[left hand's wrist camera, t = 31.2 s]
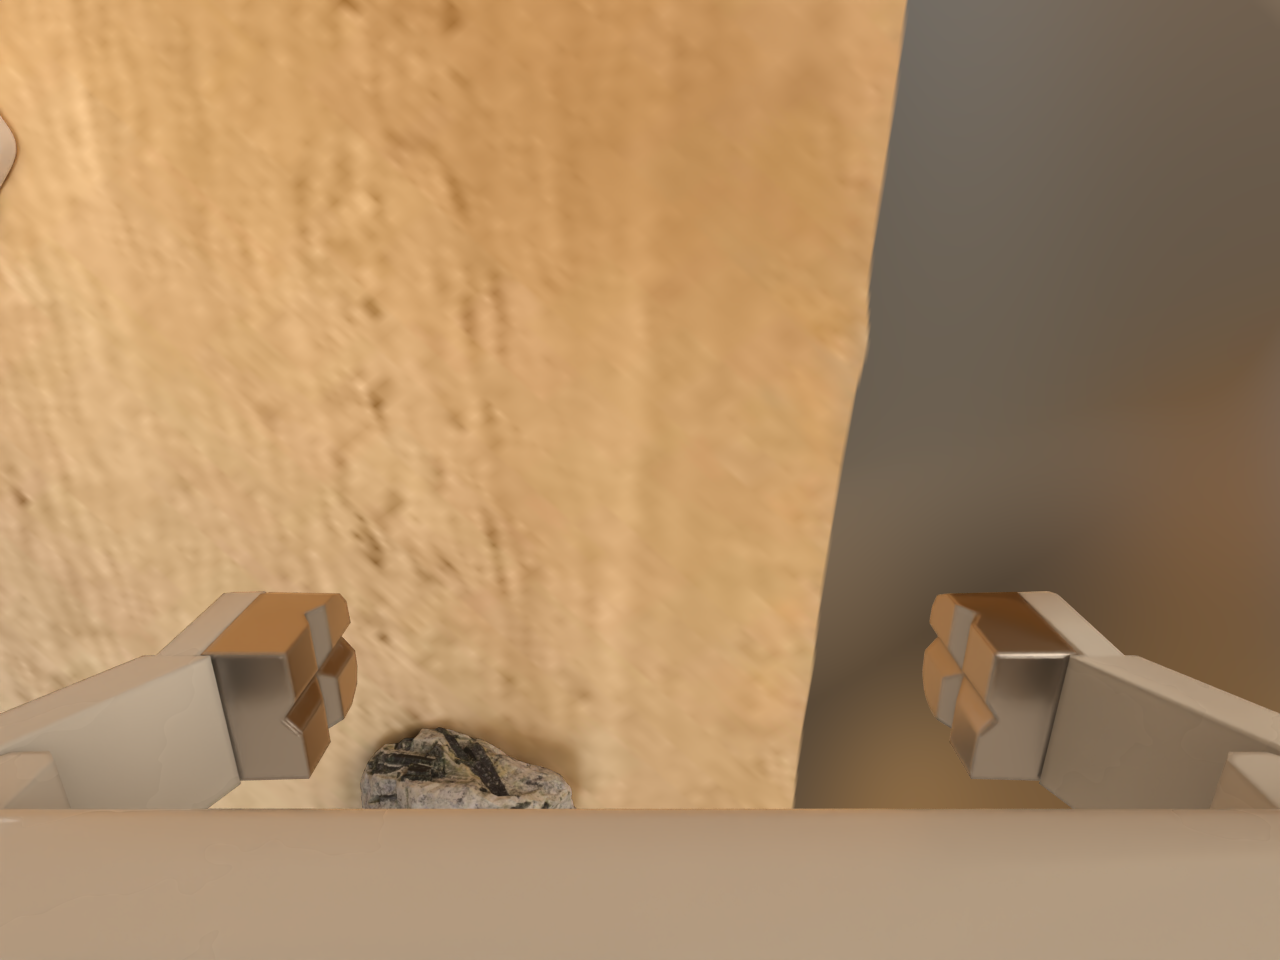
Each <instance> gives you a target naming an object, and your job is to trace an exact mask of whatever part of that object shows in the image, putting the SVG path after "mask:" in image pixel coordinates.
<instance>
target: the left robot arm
mask: <svg viewBox="0 0 1280 960" xmlns="http://www.w3.org/2000/svg"><path fill="white" fill-rule="evenodd" d="M15 156H16V142H15V138H14V136H13V134H12V132H11V130H10V128H9V127H8V125H7V124H6V123H5V121H4V120H3V118H2V117H1V115H0V187H1V185H2V184H3V182H4V180H5V178H6V177H7V175H8V173H9V171H10V169H11V167H12V165H13V162H14V160H15ZM350 623H351V622H350V617H349V612H348V607H347V602H346V600H345V599H344V598H343V597H342V596H341V594H340V593H287V592H268V593H267V592H264V591H258V592H231V593H224V594H222V595H221V596H220V597H219V598H218V599H217V600H216V601H215V602H214V603H213V604H212V605H210V606H209V607H208V608H207V609H206V610H205V611H204V612H203V613H202V614H201V615H199V616H198V617H197V618H196V619H195V620H194V621H193V622H192V623H191V624H190V625H188V626H187V627H186V628H185V629H184V630H183V631H182V632H181V633H180V634H179V635H178V636H176V637H175V638H174V639H173V640H172V641H171V642H170V643H169V644H168V645H167V646H165V647H164V648H163V649H162V650H161V651H160V652H159V653H158V654H157V655H151V656H141V657H139V658H136V659H134V660H131V661H129V662H126V663H124V664H121V665H119V666H116V667H114V668H111V669H109V670H106V671H104V672H102V673H99V674H97V675H94V676H92V677H89V678H87V679H84V680H82V681H79V682H77V683H74V684H72V685H69V686H67V687H65V688H62V689H60V690H57V691H55V692H52V693H50V694H47V695H45V696H42V697H40V698H37V699H35V700H33V701H30V702H28V703H25V704H23V705H20V706H18V707H15V708H13V709H10V710H8V711H5V712H3V713H0V960H1280V714H1279V713H1277V712H1274V711H1272V710H1269V709H1267V708H1264V707H1262V706H1259V705H1257V704H1254V703H1252V702H1250V701H1247V700H1245V699H1242V698H1240V697H1237V696H1235V695H1232V694H1230V693H1228V692H1225V691H1222V690H1220V689H1218V688H1215V687H1213V686H1210V685H1208V684H1205V683H1203V682H1200V681H1198V680H1196V679H1193V678H1191V677H1188V676H1186V675H1183V674H1181V673H1178V672H1176V671H1173V670H1171V669H1169V668H1166V667H1164V666H1161V665H1159V664H1156V663H1154V662H1151V661H1149V660H1146V659H1144V658H1141V657H1139V656H1128V655H1123V654H1122V653H1121V652H1120V651H1119V650H1118V649H1117V648H1116V647H1115V646H1114V645H1112V644H1111V643H1110V642H1109V641H1108V640H1107V639H1106V638H1105V637H1104V636H1103V635H1102V634H1100V633H1099V632H1098V631H1097V630H1096V629H1095V628H1094V627H1093V626H1092V625H1090V624H1089V623H1088V622H1087V621H1086V620H1085V619H1084V618H1083V617H1082V616H1081V615H1080V614H1079V613H1077V612H1076V611H1075V610H1074V609H1073V608H1072V607H1071V606H1070V605H1069V604H1068V603H1067V602H1065V601H1064V600H1063V599H1062V598H1061V597H1060V596H1059V595H1058V594H1055V593H1052V592H1048V591H1041V592H1018V593H1017V592H998V593H956V594H942V595H937V597H936V599H935V601H934V603H933V606H932V611H931V616H930V624H931V626H932V627H933V629H934V630H935V632H936V633H937V635H938V637H937V638H936V639H935V640H934V642H933V643H932V644H931V645H930V646H929V647H928V648H927V649H926V650H925V654H924V662H923V671H922V673H923V683H924V692H925V695H926V699H927V702H928V705H929V707H930V709H931V711H932V713H933V714H934V716H935V718H936V719H937V720H939V721H940V722H942V723H943V724H945V725H947V726H948V727H950V728H951V735H950V741H949V742H950V744H951V746H952V747H953V749H954V751H955V752H956V754H957V756H958V757H959V759H960V761H961V763H962V764H963V766H964V768H965V769H966V771H967V773H968V774H969V776H970V778H971V779H1002V780H1039V781H1040V782H1039V784H1041V785H1042V786H1043V787H1045V788H1046V789H1047V790H1049V791H1050V792H1051V793H1053V794H1054V795H1055V796H1057V797H1058V798H1059V799H1061V800H1062V801H1063V802H1065V803H1066V804H1067V805H1069V806H1070V807H1071V808H1073V809H208V808H209V807H210V806H212V805H213V804H214V803H216V802H217V801H218V800H220V799H221V798H222V797H224V796H225V795H226V794H228V793H229V792H230V791H232V790H233V789H234V788H236V787H237V786H238V785H240V783H241V782H240V781H241V780H277V779H309V778H310V776H311V775H312V773H313V771H314V769H315V768H316V766H317V764H318V763H319V761H320V759H321V758H322V756H323V754H324V752H325V751H326V749H327V747H328V746H329V744H330V742H331V741H330V735H329V728H330V727H332V726H333V725H335V724H337V723H338V722H340V721H341V720H343V719H344V718H345V716H346V714H347V712H348V711H349V709H350V707H351V705H352V702H353V698H354V694H355V690H356V686H357V660H356V654H355V650H354V649H353V648H352V647H351V646H350V645H349V644H348V643H347V642H346V640H345V639H344V638H343V637H342V635H343V633H344V632H345V630H346V629H347V627H348V626H349V624H350Z"/></svg>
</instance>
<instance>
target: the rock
mask: <svg viewBox="0 0 1280 960" xmlns="http://www.w3.org/2000/svg"><path fill="white" fill-rule="evenodd" d="M360 786H361V791H362V795H361V799H362V807H363V809H576V808H575V807H574V806H573V801H572V798H571V796H572V790H571V787H570V786H569V785H568V784H567V783H566V782H565V780H564V779H563V778H562V776H561V775H560V774H558V773H556V772H554V771H552V770H550V769H547V768H544V767H541V766H536V765H530V764H527V763H524V762H521V761H518V760H516V759H514V758H512V757H510V756H508V755H506V753H504V752H503V751H501V750H500V749H498V748H497V747H495V746H493V745H491V744H490V743H488V742H486V741H483V740H481V739H473V738H471V737H469V736H468V735H465V734H461V733H457V732H455V731H453V730H449V729H444V728H437V729H421V730H420V732H419V734H418V735H417V736H416V737H415V738H407V739H404V740H402V741H401V742H399V743H396V744H385V745H384V746H383V747H381V748H380V749H379V750H378V751H376V752H375V754H374V755H373V756H372V758H371V759H370V761H369V762H368V764H367V766H366V768H365V770H364V773H363V776H362V779H361V783H360Z"/></svg>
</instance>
